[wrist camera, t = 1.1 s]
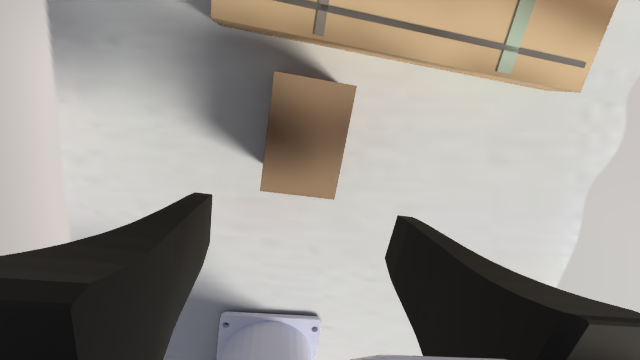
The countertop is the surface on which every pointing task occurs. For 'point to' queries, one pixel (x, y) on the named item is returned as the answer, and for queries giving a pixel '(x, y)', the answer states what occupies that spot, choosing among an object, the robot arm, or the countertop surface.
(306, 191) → the walnut block
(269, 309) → the countertop surface
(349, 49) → the oak board
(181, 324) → the countertop surface
